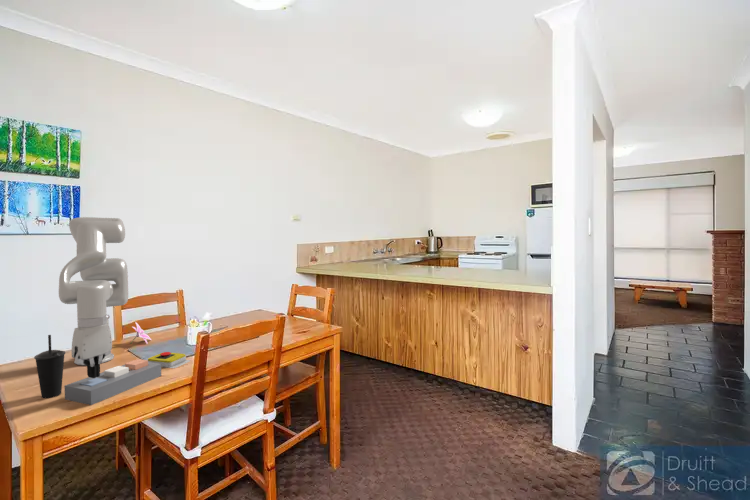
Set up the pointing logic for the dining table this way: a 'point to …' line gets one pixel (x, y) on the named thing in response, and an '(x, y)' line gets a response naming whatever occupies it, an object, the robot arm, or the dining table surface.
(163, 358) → the emergency button
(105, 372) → the off white key
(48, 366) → the drinking cup
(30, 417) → the dining table surface
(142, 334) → the lily
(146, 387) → the dining table surface
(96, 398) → the key panel
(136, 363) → the terracotta key
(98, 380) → the slate blue key
